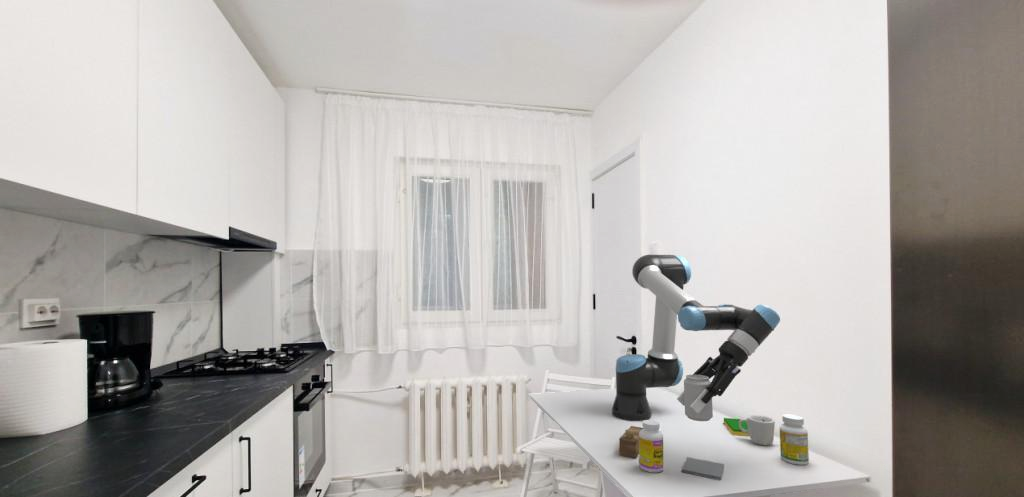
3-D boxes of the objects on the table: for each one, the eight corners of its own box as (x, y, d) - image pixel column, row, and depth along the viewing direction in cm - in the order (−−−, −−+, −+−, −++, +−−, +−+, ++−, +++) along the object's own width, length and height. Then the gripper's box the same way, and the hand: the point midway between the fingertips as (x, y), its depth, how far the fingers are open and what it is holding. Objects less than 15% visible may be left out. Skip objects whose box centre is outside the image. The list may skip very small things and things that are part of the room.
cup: (735, 441, 148) (735, 416, 149) (743, 435, 154) (742, 411, 154) (772, 449, 141) (771, 423, 141) (778, 443, 146) (777, 418, 147)
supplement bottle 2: (807, 467, 127) (805, 421, 128) (778, 461, 131) (776, 416, 132) (810, 460, 132) (808, 416, 133) (783, 454, 137) (781, 411, 138)
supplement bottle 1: (654, 475, 121) (653, 427, 122) (634, 467, 126) (633, 421, 127) (668, 469, 125) (667, 423, 126) (649, 461, 130) (648, 417, 131)
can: (715, 423, 123) (714, 379, 124) (687, 421, 124) (686, 377, 125) (709, 415, 130) (708, 374, 131) (682, 413, 132) (681, 373, 133)
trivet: (687, 459, 132) (687, 457, 132) (724, 466, 127) (723, 463, 127) (681, 472, 123) (681, 469, 123) (721, 480, 118) (721, 477, 118)
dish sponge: (733, 436, 154) (732, 429, 154) (723, 424, 167) (723, 417, 167) (755, 438, 152) (755, 431, 152) (743, 425, 166) (743, 419, 166)
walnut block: (631, 441, 147) (631, 419, 148) (646, 444, 145) (646, 422, 145) (619, 455, 135) (619, 431, 135) (635, 458, 132) (635, 434, 133)
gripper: (769, 363, 120) (715, 426, 117) (726, 352, 140) (679, 405, 137) (750, 343, 120) (695, 406, 117) (710, 335, 140) (662, 388, 137)
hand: (686, 405), depth 127 cm, fingers closed on can, 7 cm apart
